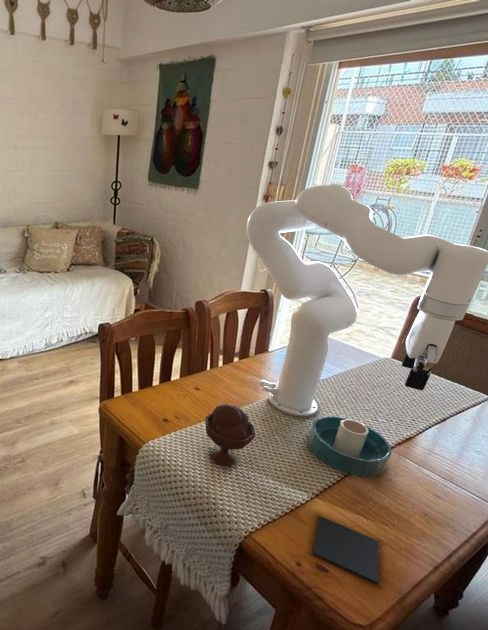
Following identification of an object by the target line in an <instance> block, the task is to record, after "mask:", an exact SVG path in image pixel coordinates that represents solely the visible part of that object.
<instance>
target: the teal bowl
mask: <svg viewBox="0 0 488 630" xmlns="http://www.w3.org/2000/svg"><path fill="white" fill-rule="evenodd" d="M345 419H348V418H347V417H341V416H336V415H334V416H333V415H332V416H331V415H329V416H321V417H318V418H317V419H315V420H314V421H313V422H312V425H311V429H310V432H309V435H308V439H307V443H308V446H309V449H310V450H311V452H312V453H313V454H314V455H315V456H316V457H317V458H318V459H319V460H320V461H322V463H325V464H326V465H328V466H330V467H331V468H333V469H334V470H337V471H340V472H342V473H345V474H348V475H351V476H357V477H362V478H373V477H377V476H379V475H382V474H383V472H384V471H385V470H386V469H387V466H388V464H389V461H390V459H391V456H392V447H391V445H390V443H389V441H388V440H387V439H386V438H385V437H384V436H383V435H382V434H381V433H380V432H378V431H376V430H374V428H372V427H370V426H368V425H366V424H364V423H362V424H363V425H365V426H366V427H367V428H368V430H369V432H368V435H367V438H366V440H365V443H364V445H363V448H362V451H361V453H360V456H359V458H355V457H352V456H349V455H346V454H343V453H341V452H339V451H337V450H335V449H333V448H332V446H333V443H334V440H335V437H336V434H337V431H338V428H339V426H340V423H341V421H342V420H345Z"/></svg>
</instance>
